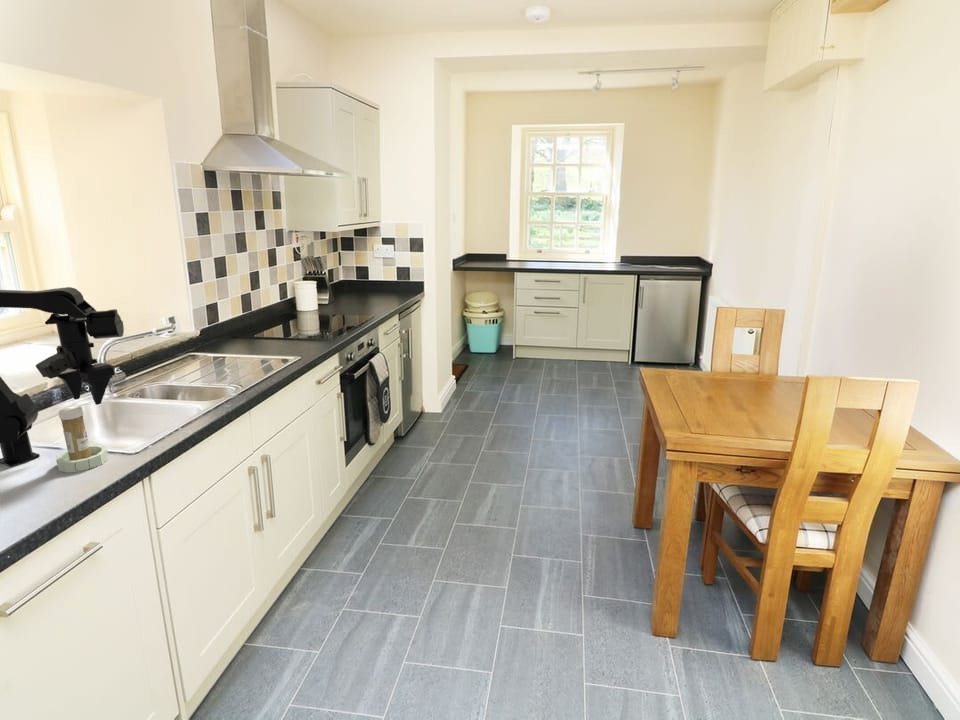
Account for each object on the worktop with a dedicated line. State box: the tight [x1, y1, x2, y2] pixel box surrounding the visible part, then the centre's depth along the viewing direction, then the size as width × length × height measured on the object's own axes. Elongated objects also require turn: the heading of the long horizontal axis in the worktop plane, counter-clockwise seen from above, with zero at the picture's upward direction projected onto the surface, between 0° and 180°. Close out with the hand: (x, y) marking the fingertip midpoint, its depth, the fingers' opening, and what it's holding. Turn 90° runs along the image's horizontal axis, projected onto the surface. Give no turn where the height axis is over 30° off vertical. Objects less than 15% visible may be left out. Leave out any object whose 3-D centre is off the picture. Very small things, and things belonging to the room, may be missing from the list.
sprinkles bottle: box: [58, 406, 91, 461], centre depth 137 cm, size 5×5×13 cm
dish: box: [55, 444, 109, 473], centre depth 139 cm, size 10×10×2 cm
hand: (87, 401), depth 143 cm, fingers open, 9 cm apart
